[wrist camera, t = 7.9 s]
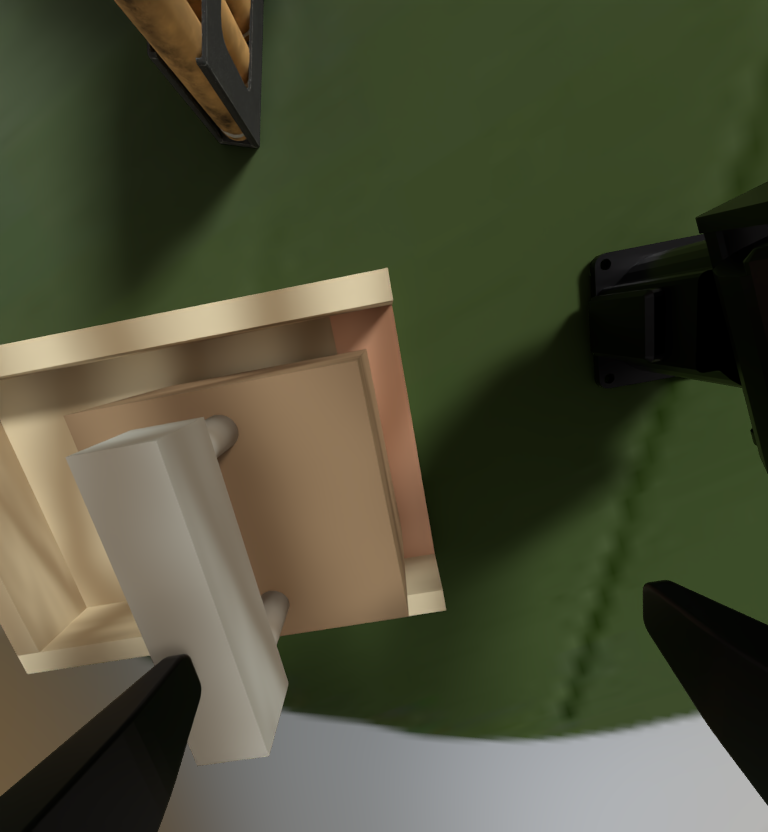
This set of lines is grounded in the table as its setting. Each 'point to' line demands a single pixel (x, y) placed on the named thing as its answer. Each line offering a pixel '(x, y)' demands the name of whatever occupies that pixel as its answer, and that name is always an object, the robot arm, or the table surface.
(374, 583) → the panel with bar handle
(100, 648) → the bay
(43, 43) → the table surface
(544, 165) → the table surface
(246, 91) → the ammunition clip
